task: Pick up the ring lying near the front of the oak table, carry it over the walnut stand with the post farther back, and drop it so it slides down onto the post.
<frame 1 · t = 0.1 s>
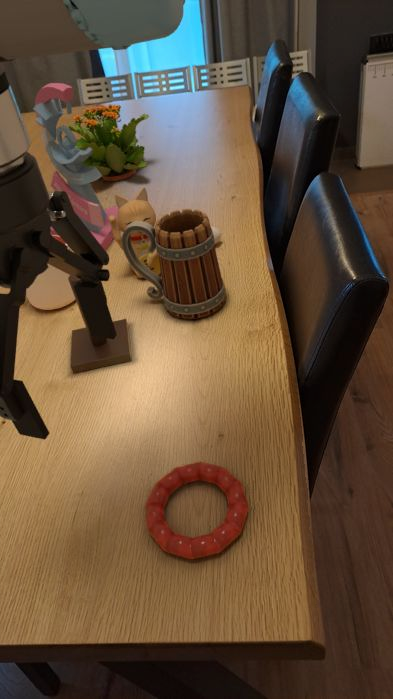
hand: (72, 380, 48), 17 cm above the table, tool pointing down, fingers open, 13 cm apart
mug: (181, 302, 85), on the table
ring: (196, 507, 54), point 1 cm above the table
stand: (101, 348, 78), on the table
cup: (57, 297, 92), on the table
egg: (208, 246, 98), on the table
figurine: (146, 270, 95), on the table
potted flower: (118, 176, 133), on the table
trophy: (85, 237, 109), on the table
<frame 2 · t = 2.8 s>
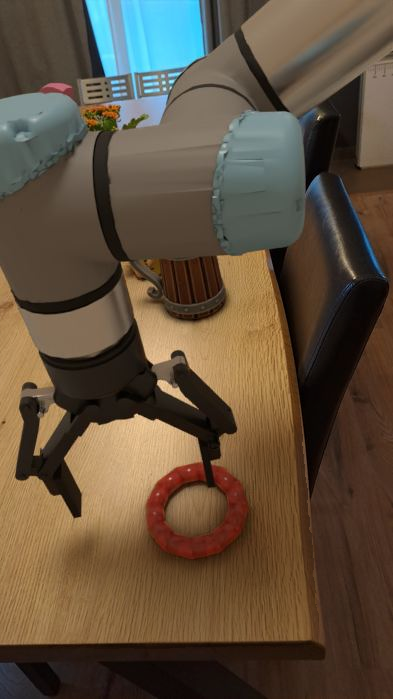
hand: (144, 491, 50), 6 cm above the table, tool pointing down, fingers open, 13 cm apart
nothing on the table moved.
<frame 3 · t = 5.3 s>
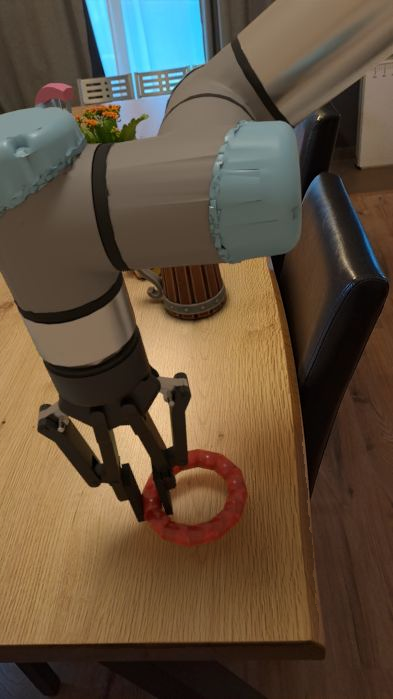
hand: (154, 507, 52), 3 cm above the table, tool pointing down, fingers closed on ring, 2 cm apart
ring: (194, 494, 52), point 4 cm above the table, touching gripper
everything else where it was.
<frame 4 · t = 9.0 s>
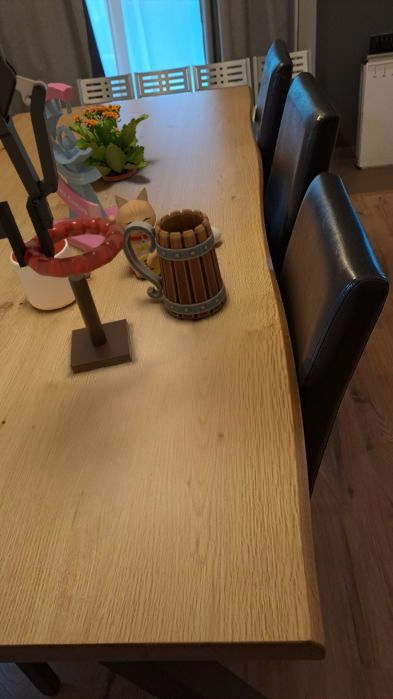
hand: (37, 257, 55), 23 cm above the table, tool pointing down, fingers closed on ring, 2 cm apart
ring: (74, 245, 55), point 23 cm above the table, touching gripper
everything else where it was.
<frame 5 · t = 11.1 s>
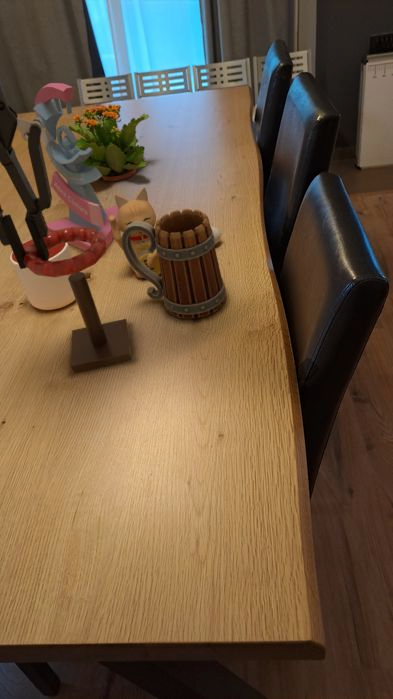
hand: (35, 260, 67), 17 cm above the table, tool pointing down, fingers closed on ring, 2 cm apart
ring: (65, 250, 67), point 18 cm above the table, touching gripper
everything else where it was.
when the fingers open (13 cm above the table, at t = 12.7 s): ring drops 10 cm, resting on stand.
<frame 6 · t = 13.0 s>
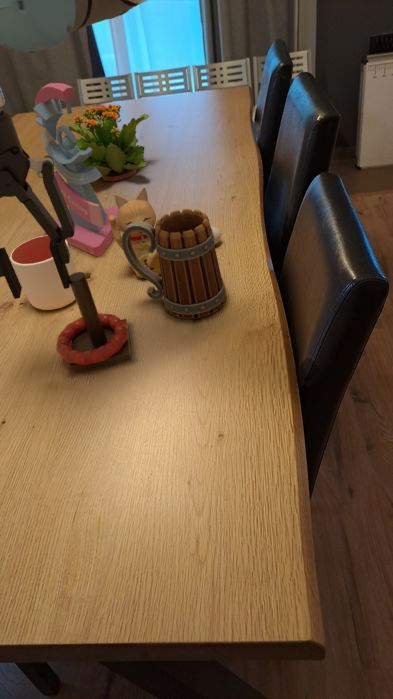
hand: (42, 288, 70), 13 cm above the table, tool pointing down, fingers open, 6 cm apart
ring: (92, 337, 77), point 2 cm above the table, touching stand
everything else where it was.
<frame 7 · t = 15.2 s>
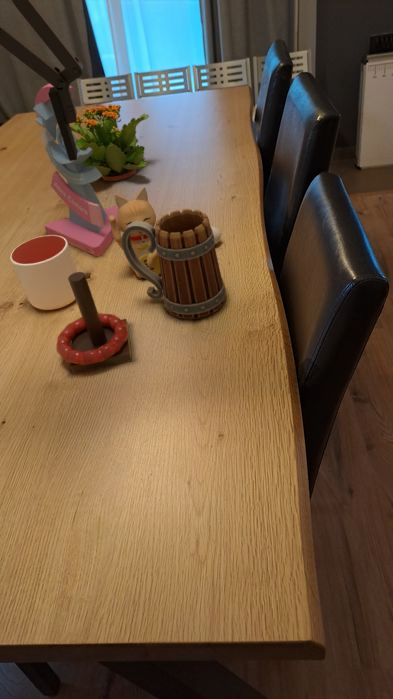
hand: (11, 170, 53), 31 cm above the table, tool pointing down, fingers open, 13 cm apart
nothing on the table moved.
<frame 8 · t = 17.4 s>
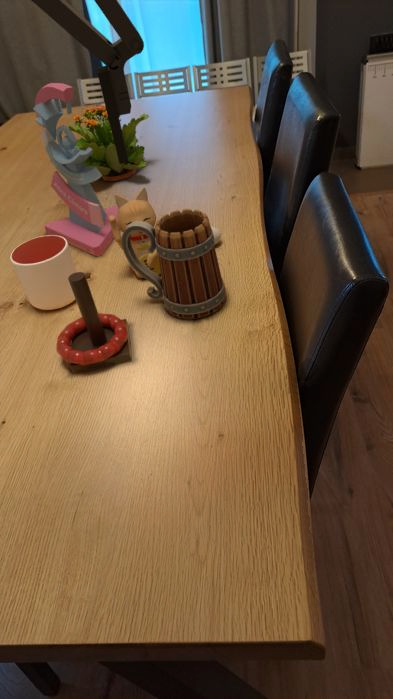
hand: (42, 174, 41), 35 cm above the table, tool pointing down, fingers open, 13 cm apart
nothing on the table moved.
at the end: ring 0.9 cm from the stand (horizontally); ring point 2.5 cm above the table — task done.
